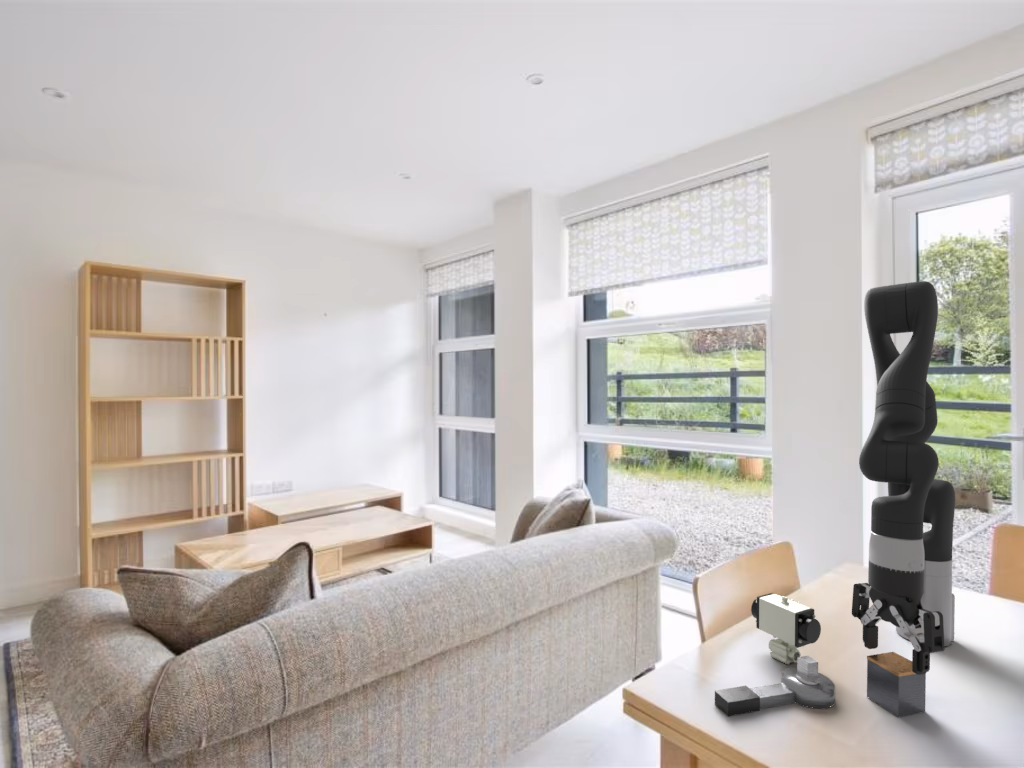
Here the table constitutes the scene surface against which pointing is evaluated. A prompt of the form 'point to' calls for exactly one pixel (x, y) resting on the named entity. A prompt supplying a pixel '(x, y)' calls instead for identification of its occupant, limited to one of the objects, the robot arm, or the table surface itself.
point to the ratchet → (781, 691)
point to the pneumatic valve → (785, 625)
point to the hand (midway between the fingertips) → (894, 659)
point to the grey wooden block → (895, 684)
